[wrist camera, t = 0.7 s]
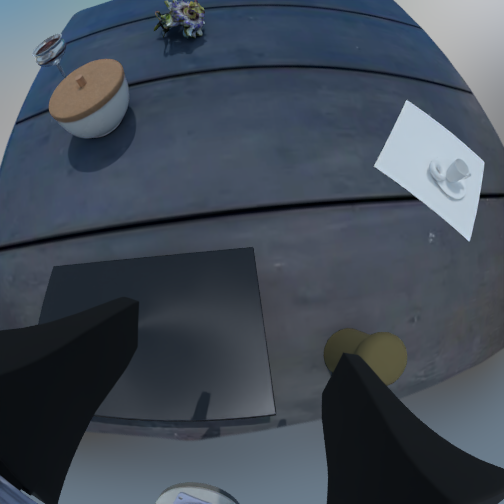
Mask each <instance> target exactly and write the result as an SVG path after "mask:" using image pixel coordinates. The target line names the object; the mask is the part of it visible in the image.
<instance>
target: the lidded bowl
mask: <svg viewBox="0 0 504 504" xmlns="http://www.w3.org/2000/svg"><path fill="white" fill-rule="evenodd" d="M128 104H129V88H128V83H127V80H126V77H125V75H124V70H123V67H122V65H121V64H120V63H119V62H118V61H116V60H113V59H100V60H96V61H93V62H90V63H88V64H85V65H83V66H81V67H80V68H78V69H76V70H75V71H73V72H72V73H71V74H69V75H68V76H67V77H66V78H65V79H64V80H63V81H62V82H61V83H60V84H59V85H58V87H57V88H56V89H55V91H54V92H53V94H52V96H51V99H50V102H49V112H50V114H51V115H52V117H53V118H54V119H55V120H57V122H58V123H59V124H60V125H61V126H62V127H63V128H64V129H65V130H66V131H67V132H69V133H70V134H72V135H74V136H77V137H80V138H99V137H103V136H105V135H107V134H109V133H111V132H112V131H113V130H115V129H116V128H117V127H118V125H119V124H120V123H121V121H122V119H123V117H124V115H125V113H126V111H127V108H128Z"/></svg>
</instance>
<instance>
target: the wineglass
mask: <svg viewBox="0 0 504 504" xmlns="http://www.w3.org/2000/svg"><path fill="white" fill-rule="evenodd" d="M65 51H66V43H65V41H64V40H63V39H61V34H55V35H53V36H51V37H49V38H47V39H46V40H44V41H43V42H42V43H41V44H39V45H38V46H37V47H36V48H35V50H34V51H33V53H32V55H33V56H34V57H35V60H36V62H37V63H38V65H40V66H42V67H49V66H52V65H56V66H57V68H58V69H59V71H60V72H61V74H62V75H63V77H64V78H66V75H65V73H64V71H63V69H62V68H61V66H60V64H59V62H60V59H61V58H62V57H63V55H64V53H65Z"/></svg>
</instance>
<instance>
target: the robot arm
mask: <svg viewBox="0 0 504 504" xmlns="http://www.w3.org/2000/svg"><path fill="white" fill-rule="evenodd" d="M138 318H139V301H137V300H134V299H131V298H128V297H125V296H124V297H120V298H117V299H114V300H111V301H109V302H106V303H103V304H101V305H98V306H95V307H93V308H90V309H87V310H85V311H82V312H79V313H76V314H73V315H70V316H67V317H64V318H61V319H58V320H55V321H51V322H48V323H44V324H40V325H35V326H30V327H25V328H19V329H11V330H2V331H0V504H38V503H36V502H35V501H33V500H32V499H30V498H29V497H28V496H26V495H25V494H23V493H22V492H21V491H20V490H21V489H22V490H23V491H25V492H26V493H27V494H29V495H33V496H35V497H36V498H38V499H39V500H41V501H42V502H44V503H45V504H58V500H59V497H60V493H61V490H62V487H63V483H64V480H65V477H66V475H67V472H68V469H69V467H70V464H71V461H72V459H73V457H74V454H75V452H76V450H77V447H78V445H79V443H80V441H81V439H82V437H83V435H84V433H85V431H86V429H87V427H88V425H89V423H90V421H91V419H92V417H93V416H94V414H95V412H96V411H97V409H98V408H99V406H100V405H101V404H102V402H103V401H104V399H105V398H106V397H107V395H108V394H109V392H110V391H111V390H112V388H113V387H114V385H115V384H116V383H117V381H118V380H119V378H120V377H121V376H122V374H123V373H124V371H125V370H126V368H127V367H128V365H129V363H130V361H131V359H132V357H133V355H134V353H135V351H136V349H137V347H138ZM322 423H323V432H324V440H325V448H326V458H327V466H328V493H327V504H498V503H499V502H500V501H502V500H503V499H504V469H503V468H501V467H498V466H495V465H493V464H490V463H487V462H485V461H482V460H480V459H478V458H476V457H474V456H472V455H470V454H468V453H466V452H464V451H462V450H461V449H459V448H457V447H456V446H454V445H452V444H451V443H450V442H448V441H447V440H445V439H444V438H442V437H441V436H439V435H438V434H437V433H435V432H434V431H433V430H432V429H430V428H429V427H428V426H427V425H426V424H424V423H423V422H422V421H420V419H418V418H417V417H416V416H415V415H414V414H413V413H412V412H411V411H410V410H409V409H408V408H407V407H406V406H405V405H404V404H403V403H402V402H401V401H400V400H399V399H398V398H397V397H396V396H395V395H394V393H393V392H392V391H391V390H390V389H389V388H388V387H387V386H386V385H385V383H384V382H383V381H382V380H381V379H380V378H379V377H378V375H377V374H376V373H375V372H374V371H373V370H372V369H371V367H370V366H369V365H368V364H367V363H366V362H365V361H364V360H363V359H362V358H361V357H360V356H359V355H355V354H349V353H344V352H343V354H342V356H341V358H340V360H339V362H338V364H337V366H336V368H335V370H334V372H333V374H332V376H331V378H330V380H329V381H328V383H327V385H326V387H325V389H324V391H323V393H322ZM180 497H182V498H180ZM173 504H212V503H209V502H206V501H204V500H201V499H198V498H196V497H193V496H191V495H188V494H186V493H184V492H179V494H178V495H177V497H176V499H175V501H174V503H173Z"/></svg>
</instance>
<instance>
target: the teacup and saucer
mask: <svg viewBox="0 0 504 504" xmlns="http://www.w3.org/2000/svg"><path fill="white" fill-rule="evenodd" d="M428 169H429V172H430V174H431V176H432V177H433V178H434V180H435V182H436V183H437V185H438V186H439V188H440V189H441V190H442V191H443V192H444V193H445V194H446V195H447V196H449V197H450V198H452V199H455V200H461V199H463V198H464V197H465V196H466V195H467V192H468V182H467V179H469V178H470V177H471V176H472V172H471V171H470V168H469V166H468V164H467V163H466V162H465V161H464V160H463V159H462V158H460V157H457V158H456V159H455V160H452V159H451V158H449V157H447V156H443V155H441V156H437V157H436V158H435V159H432V160H431V161H430V162H429V165H428Z"/></svg>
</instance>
